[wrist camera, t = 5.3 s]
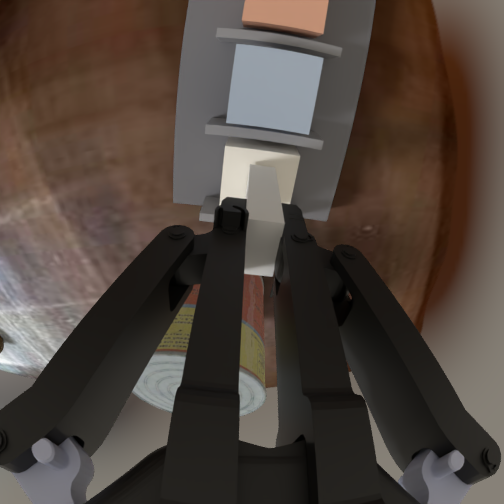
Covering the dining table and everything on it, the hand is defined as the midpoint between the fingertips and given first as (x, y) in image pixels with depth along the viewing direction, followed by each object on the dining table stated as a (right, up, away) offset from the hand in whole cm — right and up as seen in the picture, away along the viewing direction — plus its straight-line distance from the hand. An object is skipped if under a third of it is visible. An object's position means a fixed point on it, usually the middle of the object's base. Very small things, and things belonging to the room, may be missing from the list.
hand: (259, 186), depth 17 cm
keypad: (+1, +10, -1) cm, 10 cm away
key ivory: (0, +2, +2) cm, 3 cm away
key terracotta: (+1, +11, -5) cm, 12 cm away
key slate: (+1, +6, -2) cm, 6 cm away
